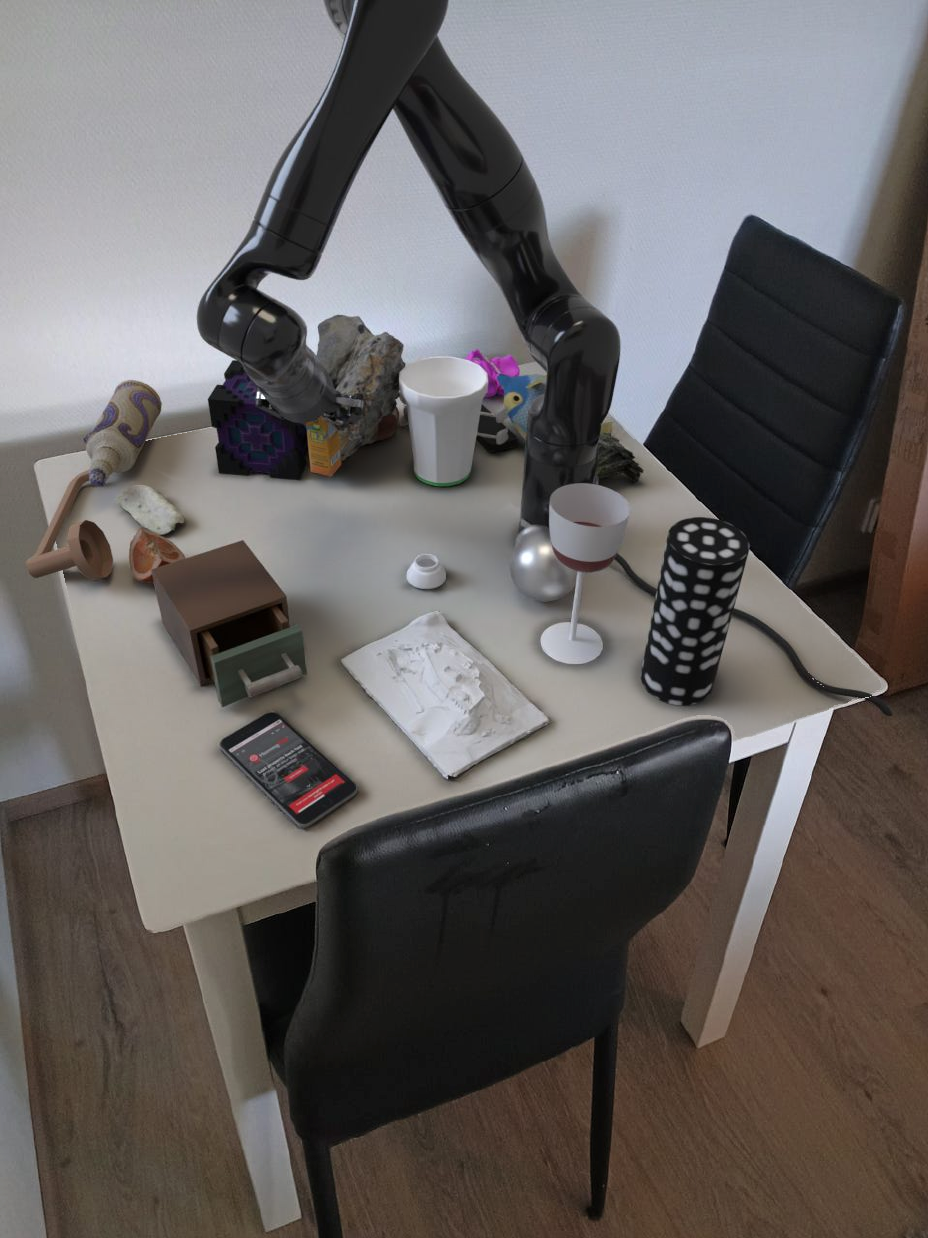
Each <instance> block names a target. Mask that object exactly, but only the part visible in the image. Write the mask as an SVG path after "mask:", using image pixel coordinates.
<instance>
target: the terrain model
mask: <svg viewBox="0 0 928 1238" xmlns="http://www.w3.org/2000/svg"><path fill="white" fill-rule="evenodd" d="M340 661H341V664H342V665H343V667H344V668H345V669H346V671H348V673H349V674H350V675H351V676H352V678H353V679H354V680H355V681H356V682H357V683H358V684H359V685H360V686H361V688H363V689H364V691H365V692H366V694H367V695H369V697H371V699H373V701H374V702H375V703H376V704H378V705H379V707H380V708H381V709H383V711H384V712H385V713H386V714H387V716H388V717H389V718H390V719H391V720H392V721H393V723H395V725H397V726H398V728H399V729H400V730H401V731H402V732H403V733H404V734H405V735H406V736H407V738H408V739H409V740H410V741H411V742H412V743H413V744H414V746H416V748H418V749H419V751H420V752H421V753H422V754H423V755H424V757H426V758H427V760H429V762H430V763H431V764H432V765H433V767H434V768H435V769H437V770H438V772H439V773H440V774H441V775H442V777H443V778H444V779H446V780H448V779H449V776H450V777H453V778H457V777H458V776H459V775H460V774H462V773H464V772H465V771H467V770H469V769H470V768H472V767H473V766H474V765H475V766H476V765H478V763H480V762H482V761H483V760H485V759H487V758H489V757H490V756H492V755H495V754H496V753H498V752H500V751H502V750H504V749H505V748H507V747H509V746H510V745H512V744H513V745H514V744H515V743H516V742H517V741H520V740H521V739H523V738H526V736H529V735H530V734H533V733H534V732H536V731H537V730H539V729H541V728H543V727H545V726H548V725H549V723H550V720H549V717H548V716H547V715H546V714H545V712H543V711H541V710H540V709H539V708H538V707H537V706H536V705H535V704H534V703H532V702H531V701H530V700H529V699H528V698H527V697H526V696H525V695H524V694H523V693H522V692H521V690H519V689H517V688H516V685H513V684H512V683H511V682H510V681H509V680H508V679H507V678H506V676H504V674H502V673H501V672H500V671H499V670H498V668H496V667H495V666H494V665H493V663H491V661H490V660H489V659H487V658H486V657H485V656H484V655H483V654H482V653H481V652H480V651H478V650H477V649H476V648H474V646H473V645H472V644H470V643H469V642H467V640H465V639H464V638H463V637H462V636H461V635H460V634H459V632H457V631H456V630H454V629H453V628H452V627H451V625H450V624H449V623H448V620H446V618H445V617H444V615H443V614H442V613H441V612H440V610H439V611H438V610H434V611H431V612H428V613H424V614H422V615H420V616H418V617H417V618H415V619H413V620H412V621H411V622H410V623H408V624H407V625H406V626H405V627H404V628H401V629H398V630H397V631H394V632H392V633H390V634H389V635H385V637H383V638H380V639H377V640H375V641H372V642H369V643H367V644H366V645H364V646H363V647H361V648H358V649H356V650H355V651H353V652H352V653H349V654H347V655H346V656H344V657H343V658H341V660H340Z"/></svg>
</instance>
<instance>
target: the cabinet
mask: <svg viewBox="0 0 928 1238" xmlns="http://www.w3.org/2000/svg"><path fill="white" fill-rule="evenodd" d="M151 573H152V577H153V582H154V583H153V587H154V590H155V591H154V592H155V595H156V599H157V603H158V608H159V612H160V616H161V622H162V625H163V626H164V628H165V630H166V631H167V634H168V635H169V637H171V640H172V641H173V643H174V645H175V646H176V648H177V649H178V651H179V653H180V654H181V656H182V658H183V659H184V661H185V662H186V664H187V666H188V667H189V669H190V671H191V672H192V674H193V676H194V677H195V679H196V680H197V682H198V684H199V685H200V687H202V686H205V685H207V684H210V683H214V681H213V680H212V678H211V676H210V675H209V673H208V672H207V670H206V668H205V667H204V665H203V663H202V658H201V653H200V648H199V643H198V638H197V633H198V632H201V631H204V630H206V629H209V628H212V627H215V626H218V625H220V624H223V623H226V622H229V621H232V620H235V619H237V618H240V617H243V616H246V615H249V614H252V613H254V612H257V611H260V610H263V609H266V608H268V607H271V606H274V605H277V606H278V608H279V609H280V610H281V612H282V613H283V614H284V616H285V617H286V618H287V620H288V623H289V627H291V622H290V621H291V619H290V613H289V605H288V604H289V603H288V597H287V595H286V593H285V592H284V591H283V590H282V588H281V587H280V586H279V584H278V583H277V582H276V580H275V579H274V578H273V576H272V575H271V573H269V572H268V570H267V569H266V568H265V566H264V565H263V564H262V563H261V561H260V559H258V557H257V556H256V554H255V553H254V552H253V551H252V550H251V548H250V547H249V545H247V543H246V541H245V540H243V539H242V540H238V541H236V542H232V543H229V544H226V545H223V546H220V547H216V548H214V549H211V550H207V551H204V552H201V553H198V554H194V555H192V556H189V557H185V559H182V560H179V561H176V562H173V563H170V564H167V565H163V566H160V567H157V568H154V569H151Z"/></svg>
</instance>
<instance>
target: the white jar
mask: <svg viewBox="0 0 928 1238" xmlns="http://www.w3.org/2000/svg"><path fill="white" fill-rule="evenodd" d="M406 580H407V582H408V584H410V585H411V586H412V587H414V588H418V589H421V590H431V589H436V588H438V587H440V586H441V585H443V584H444V583H445V582H446V580H447V572H446V570H445V568H444V566H443V565H442V563H441V562H440V561H439V559H438V557H437V556H436V555H434V554H431V553H422V554H419V555H417V556H416V557H415V558H414V560H413V562H412V563H411V564H410V566H409V568H408V569H407V570H406Z"/></svg>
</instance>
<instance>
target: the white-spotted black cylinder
mask: <svg viewBox="0 0 928 1238" xmlns="http://www.w3.org/2000/svg"><path fill="white" fill-rule="evenodd" d="M750 547H751V545H750V541H749V539H748V537H747V536H746V534H745V533H744V532H743V531H742V530H741V529H739V528H738V527H737V526H735V525H733V524H731V523H730V522H727V521H724V520H721V519H718V518H713V517H706V516H692V517H687V518H684V519H680V520H679V521H677V522H675V523H674V524H673V525H672V526H670V528H669V529H668V531H667V537H666V542H665V547H664V553H663V558H662V562H661V568H660V573H659V578H658V582H657V588H656V589H657V593H656V596H655V598H654V604H653V607H652V613H651V618H650V623H649V629H648V634H647V639H646V644H645V648H644V655H643V660H642V664H641V669H640V681H641V684H642V686H643V687H644V689H645V690H646V691H647V693H649V694H650V695H651V696H652V697H654V698H655V699H657V700H659V701H661V702H664V703H666V704H670V705H674V706H692V705H696V704H699V703H701V702H703V701H704V700H706V699H707V698H708V697H709V696H710V695H711V693H712V692H713V689H714V685H715V681H716V678H717V677H716V676H717V673H718V669H719V667H720V662H721V659H722V655H723V651H724V647H725V644H726V640H727V636H728V631H729V628H730V624H731V621H732V616H733V615H732V613H733V609H734V608H735V605H736V601H737V597H738V594H739V591H740V586H741V582H742V579H743V575H744V571H745V569H746V564H747V560H748V556H749V552H750V549H751V548H750Z"/></svg>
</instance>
